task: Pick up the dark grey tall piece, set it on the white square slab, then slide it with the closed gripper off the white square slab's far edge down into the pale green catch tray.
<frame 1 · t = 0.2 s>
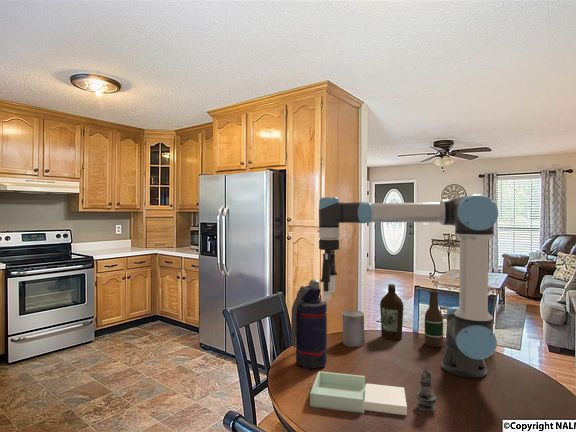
hand: (329, 296, 135), 28 cm above the table, tool pointing down, fingers open, 13 cm apart
beer bottle: (433, 345, 162), on the table
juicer: (314, 348, 158), on the table
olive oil: (391, 338, 171), on the table
grenade: (309, 365, 140), on the table
dark grey tall piece: (426, 408, 109), on the table
pillar candle: (353, 343, 164), on the table
white square slab: (385, 402, 112), on the table
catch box: (339, 396, 116), on the table
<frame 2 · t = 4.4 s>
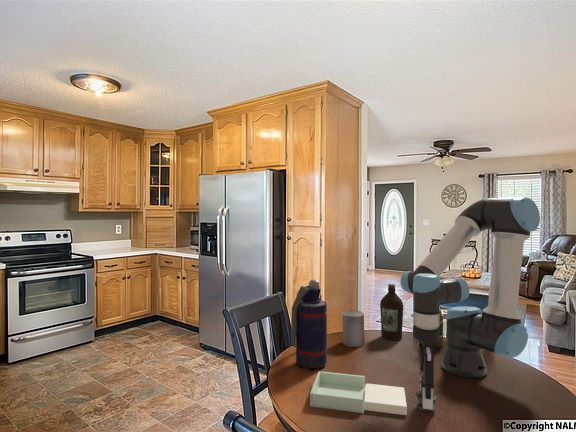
hand: (426, 402, 109), 1 cm above the table, tool pointing down, fingers closed on dark grey tall piece, 6 cm apart
dark grey tall piece: (426, 407, 109), on the table, touching gripper
everything else where it was.
when the fingers open (5 cm above the table, at t = 9.7 s): dark grey tall piece drops 1 cm, resting on white square slab.
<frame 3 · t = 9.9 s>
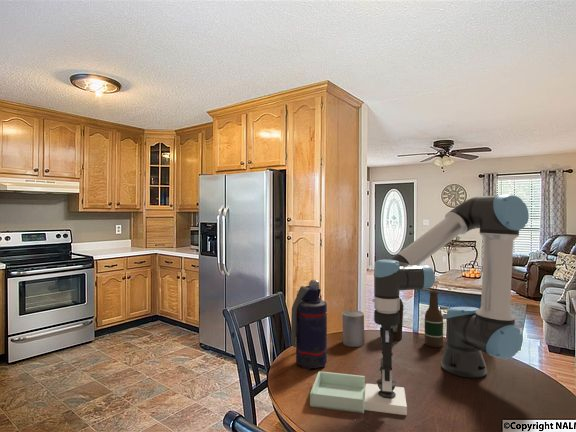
hand: (386, 383, 112), 6 cm above the table, tool pointing down, fingers open, 9 cm apart
dark grey tall piece: (386, 394, 112), point 2 cm above the table, touching white square slab
everything else where it was.
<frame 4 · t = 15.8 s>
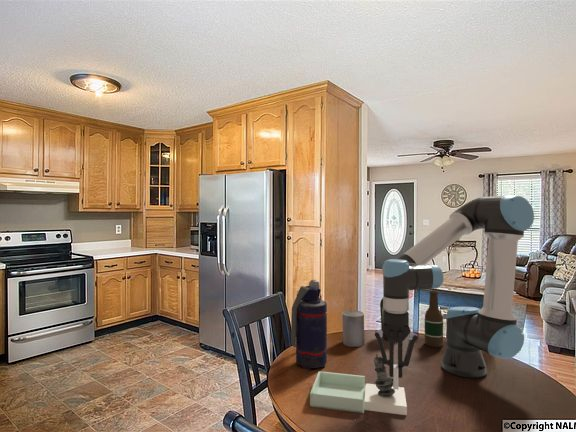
hand: (395, 387, 111), 5 cm above the table, tool pointing down, fingers closed
dark grey tall piece: (386, 393, 112), point 3 cm above the table, touching white square slab, gripper
everything else where it was.
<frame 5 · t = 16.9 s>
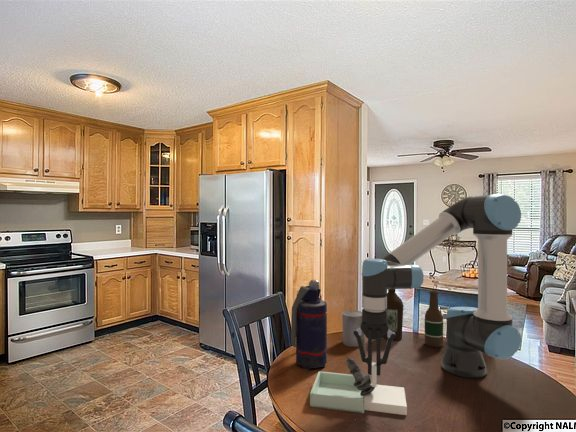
hand: (374, 384, 113), 5 cm above the table, tool pointing down, fingers closed
dark grey tall piece: (368, 391, 113), point 3 cm above the table, touching white square slab, gripper
everything else where it was.
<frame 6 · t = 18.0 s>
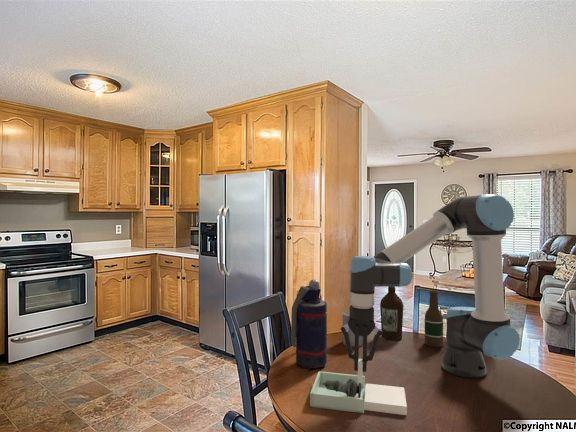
hand: (360, 381, 113), 6 cm above the table, tool pointing down, fingers closed
dark grey tall piece: (361, 390, 114), point 3 cm above the table, touching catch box, gripper
everything else where it was.
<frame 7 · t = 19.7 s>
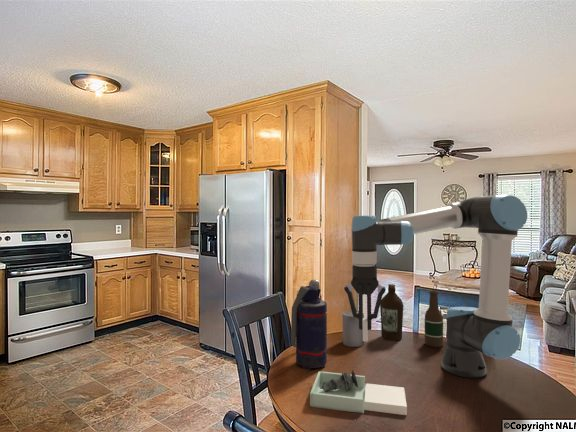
hand: (365, 339, 114), 19 cm above the table, tool pointing down, fingers closed
dark grey tall piece: (355, 378, 119), point 4 cm above the table, touching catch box
everything else where it was.
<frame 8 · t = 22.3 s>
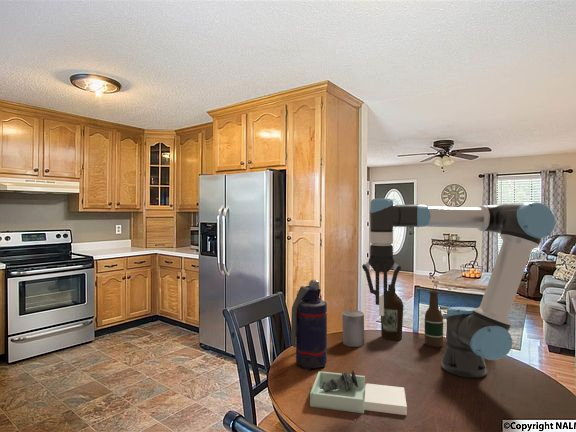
hand: (381, 314, 122), 24 cm above the table, tool pointing down, fingers closed
nothing on the table moved.
at the end: dark grey tall piece inside the target area on the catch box (6.8 cm from its centre), point 4.2 cm above the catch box's base; dark grey tall piece touching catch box; the gripper is holding nothing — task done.
